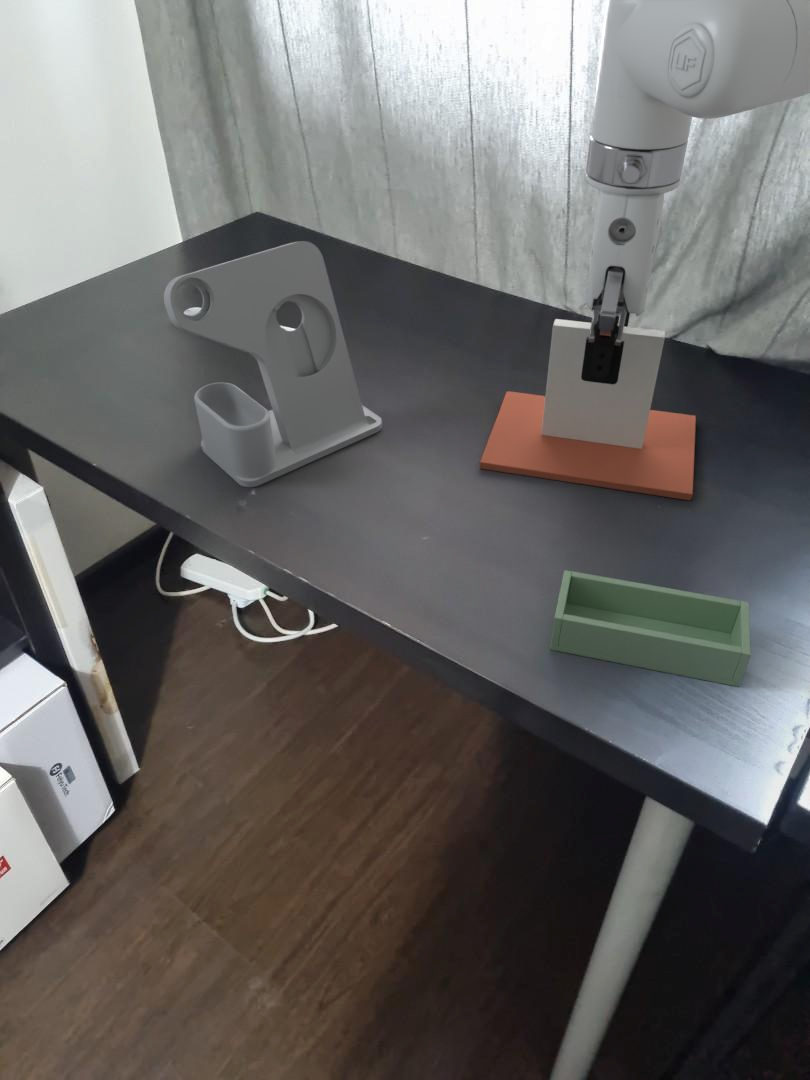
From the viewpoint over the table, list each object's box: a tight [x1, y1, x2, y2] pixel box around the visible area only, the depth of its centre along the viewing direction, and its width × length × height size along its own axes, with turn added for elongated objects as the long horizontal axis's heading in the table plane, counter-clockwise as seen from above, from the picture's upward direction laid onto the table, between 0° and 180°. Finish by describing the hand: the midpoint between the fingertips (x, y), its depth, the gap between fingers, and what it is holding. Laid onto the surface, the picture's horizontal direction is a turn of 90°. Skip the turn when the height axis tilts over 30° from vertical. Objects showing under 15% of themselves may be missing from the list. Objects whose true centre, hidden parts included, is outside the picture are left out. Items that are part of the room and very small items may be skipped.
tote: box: [549, 569, 752, 688], centre depth 62 cm, size 14×5×4 cm, turn 74°
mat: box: [479, 391, 697, 502], centre depth 83 cm, size 20×14×1 cm
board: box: [541, 318, 666, 449], centre depth 79 cm, size 10×1×12 cm, turn 74°
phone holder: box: [163, 240, 383, 488], centre depth 80 cm, size 17×10×18 cm, turn 129°
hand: (604, 356), depth 77 cm, fingers open, 9 cm apart
